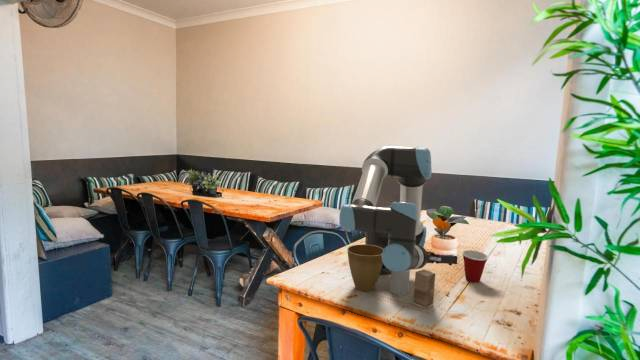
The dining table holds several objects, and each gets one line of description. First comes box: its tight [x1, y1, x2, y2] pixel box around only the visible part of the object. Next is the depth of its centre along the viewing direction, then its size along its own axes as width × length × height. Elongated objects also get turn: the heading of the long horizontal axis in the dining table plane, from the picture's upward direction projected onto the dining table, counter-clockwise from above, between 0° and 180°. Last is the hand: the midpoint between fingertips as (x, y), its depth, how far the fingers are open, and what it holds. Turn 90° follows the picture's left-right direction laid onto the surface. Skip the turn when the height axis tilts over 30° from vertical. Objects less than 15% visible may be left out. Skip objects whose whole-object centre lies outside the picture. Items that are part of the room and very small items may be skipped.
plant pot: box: [347, 243, 384, 292], centre depth 146 cm, size 15×15×16 cm
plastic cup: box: [461, 249, 490, 284], centre depth 159 cm, size 11×11×12 cm
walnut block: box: [412, 269, 436, 309], centre depth 134 cm, size 5×5×12 cm
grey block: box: [389, 270, 411, 297], centre depth 144 cm, size 5×5×12 cm
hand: (432, 255), depth 129 cm, fingers open, 13 cm apart
